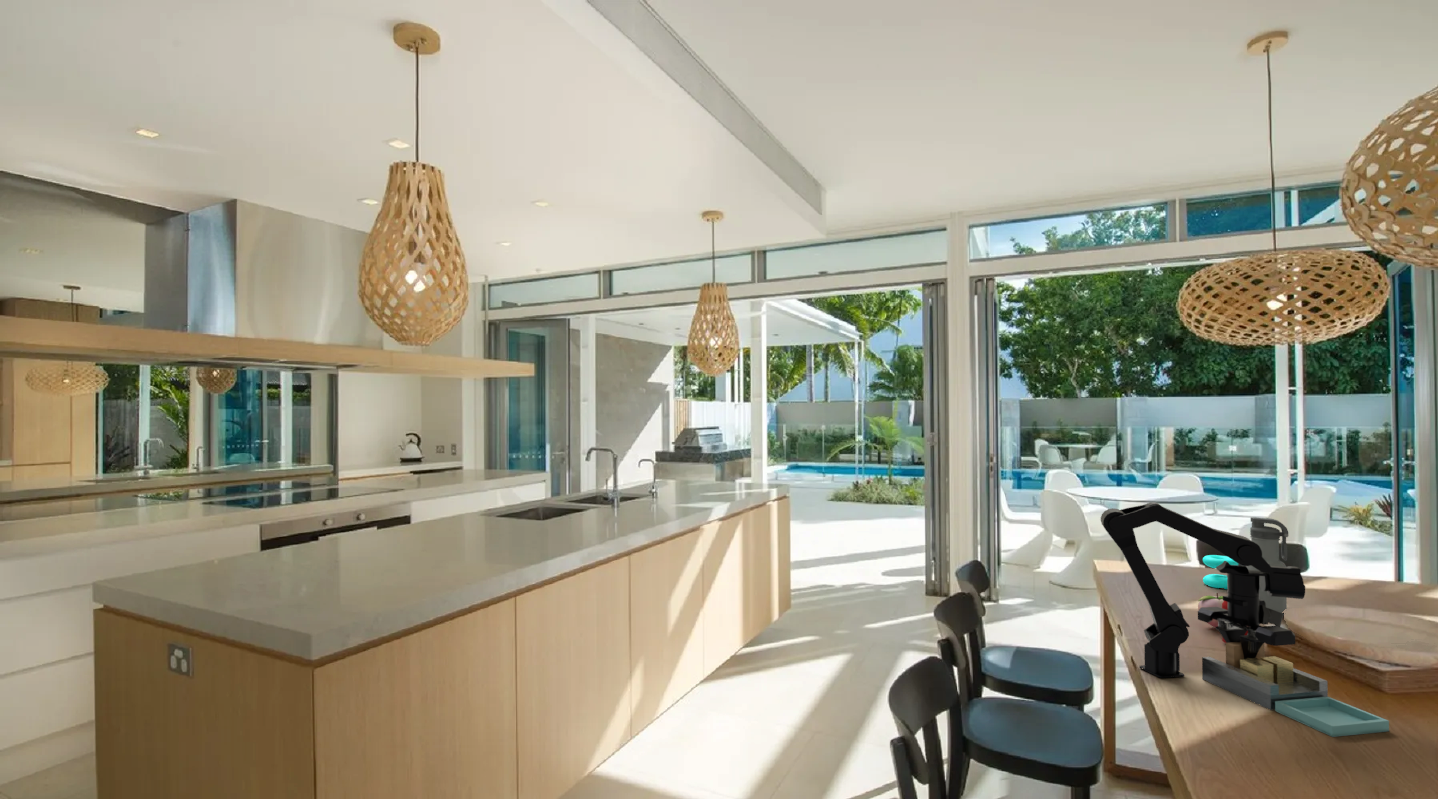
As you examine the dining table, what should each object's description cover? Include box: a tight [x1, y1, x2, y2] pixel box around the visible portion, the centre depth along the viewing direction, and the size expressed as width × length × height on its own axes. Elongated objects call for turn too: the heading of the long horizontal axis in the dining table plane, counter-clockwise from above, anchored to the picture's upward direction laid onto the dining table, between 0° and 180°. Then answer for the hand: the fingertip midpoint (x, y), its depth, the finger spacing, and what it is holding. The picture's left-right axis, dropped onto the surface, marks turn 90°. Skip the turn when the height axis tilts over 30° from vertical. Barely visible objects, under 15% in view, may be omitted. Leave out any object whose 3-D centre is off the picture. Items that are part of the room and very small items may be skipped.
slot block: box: [1201, 656, 1329, 711], centre depth 147 cm, size 14×16×5 cm
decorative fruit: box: [1197, 592, 1224, 628], centre depth 190 cm, size 9×8×10 cm
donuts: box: [1202, 554, 1240, 590], centre depth 234 cm, size 10×10×10 cm
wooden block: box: [1225, 642, 1266, 669], centre depth 152 cm, size 8×2×6 cm, turn 100°
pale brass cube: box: [1240, 658, 1274, 683], centre depth 146 cm, size 4×4×4 cm
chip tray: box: [1274, 696, 1390, 738], centre depth 134 cm, size 13×11×2 cm
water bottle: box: [1246, 516, 1289, 613], centre depth 206 cm, size 10×10×28 cm
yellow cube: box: [1259, 655, 1294, 683], centre depth 147 cm, size 4×4×4 cm
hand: (1244, 663), depth 152 cm, fingers closed on wooden block, 2 cm apart
